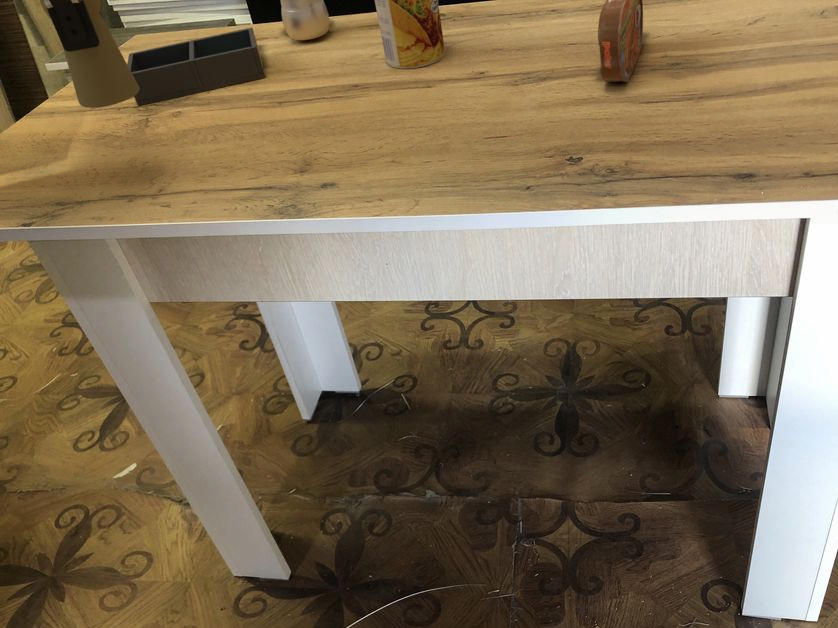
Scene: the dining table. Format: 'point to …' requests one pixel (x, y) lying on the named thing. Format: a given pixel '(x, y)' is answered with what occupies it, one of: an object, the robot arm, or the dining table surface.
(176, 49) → the divided storage box
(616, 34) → the tin
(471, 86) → the dining table surface
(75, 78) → the cork
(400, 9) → the canned food
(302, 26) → the plastic bottle
